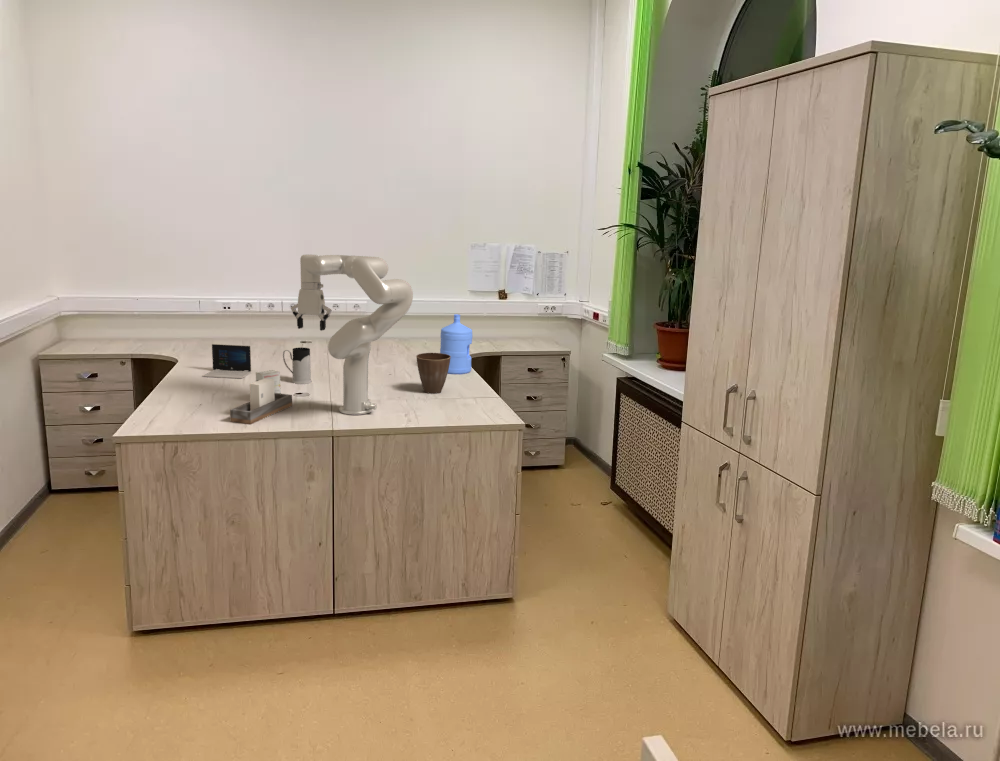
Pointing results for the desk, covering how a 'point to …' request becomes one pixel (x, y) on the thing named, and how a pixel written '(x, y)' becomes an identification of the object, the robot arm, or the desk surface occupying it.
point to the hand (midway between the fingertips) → (311, 329)
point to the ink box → (270, 375)
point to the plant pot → (433, 371)
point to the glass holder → (300, 365)
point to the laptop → (230, 361)
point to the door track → (260, 409)
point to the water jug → (457, 346)
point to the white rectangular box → (261, 393)
